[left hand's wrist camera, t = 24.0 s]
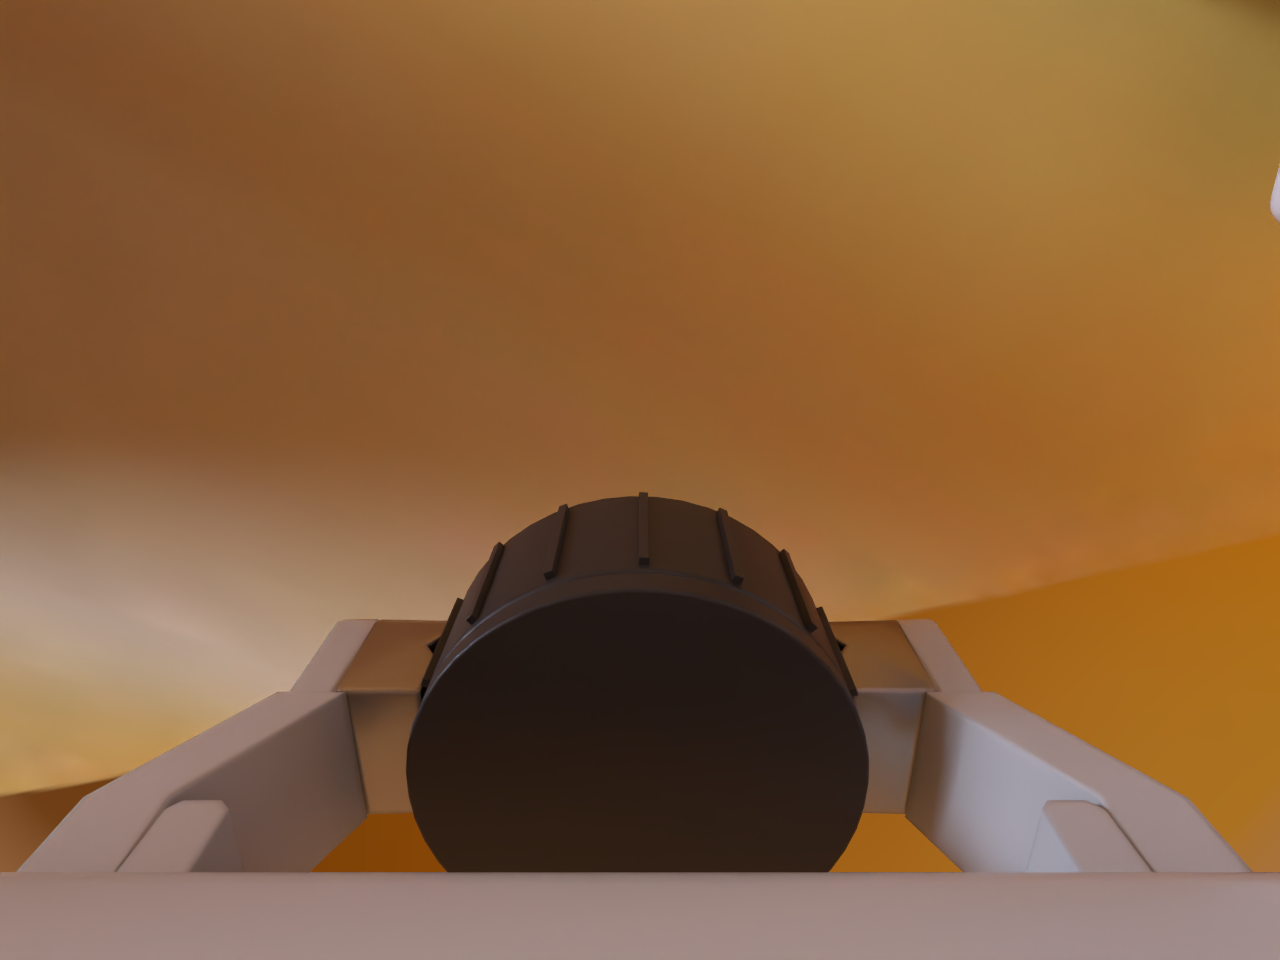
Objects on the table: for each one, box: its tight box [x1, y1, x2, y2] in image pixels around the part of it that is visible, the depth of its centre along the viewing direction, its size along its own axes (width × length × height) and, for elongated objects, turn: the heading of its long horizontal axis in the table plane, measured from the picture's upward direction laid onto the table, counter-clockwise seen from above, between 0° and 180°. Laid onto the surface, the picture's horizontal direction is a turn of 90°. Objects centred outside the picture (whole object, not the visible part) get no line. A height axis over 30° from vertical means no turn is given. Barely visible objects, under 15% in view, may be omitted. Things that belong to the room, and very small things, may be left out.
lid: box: [406, 492, 869, 872], centre depth 9 cm, size 5×5×2 cm
